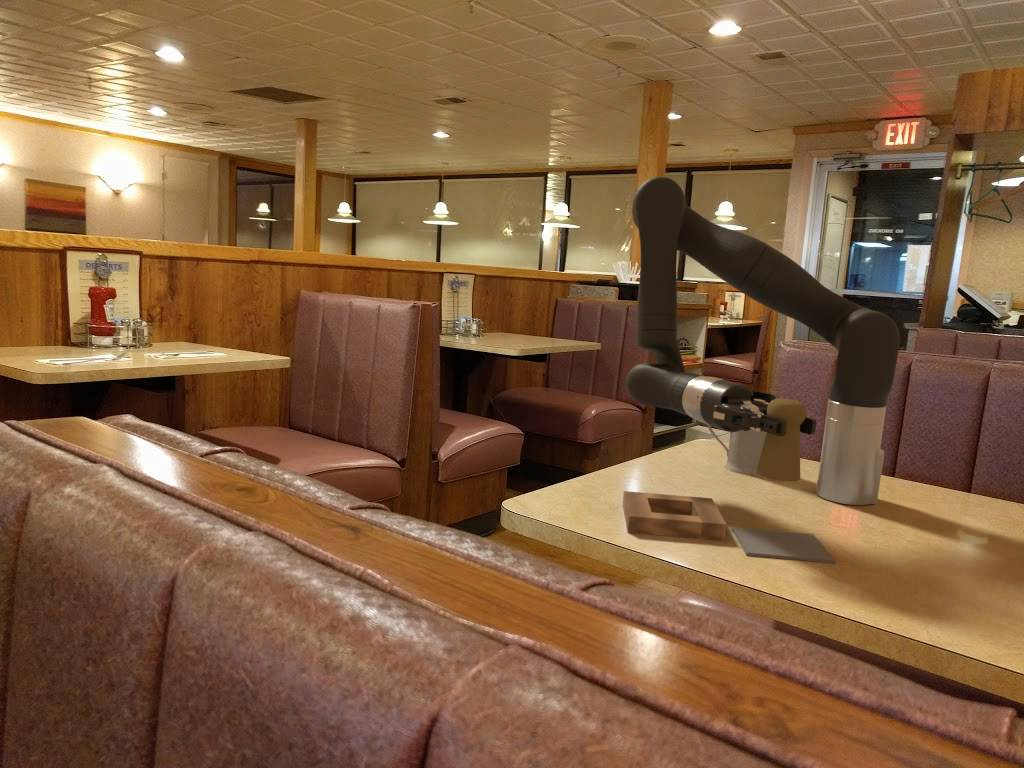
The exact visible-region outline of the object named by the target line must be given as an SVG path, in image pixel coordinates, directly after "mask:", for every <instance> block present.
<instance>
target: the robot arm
mask: <svg viewBox="0 0 1024 768" xmlns="http://www.w3.org/2000/svg"><path fill="white" fill-rule="evenodd" d="M631 208H632V210H631V216H632V221H633V222H634V225H635V227H636V228H637V229H638V233H639V236H638V237H639V243H640V245H639V246H640V269H639V270H640V271H639V284H638V294H637V307H636V308H637V309H636V310H637V312H636V316H637V317H636V342H637V345H638V347H639V348H641V349H642V350H645V351H648V352H650V353H652V354H653V356H654V358H655V361H656V363H646V362H644V363H640V364H637V365H635V366H633V367H632V368H631V369H630V370H629V371H628V374H627V375H626V377H625V378H626V380H625V387H626V391H627V392H628V393H627V394H629V396H630V397H631V399H633V400H634V401H635V402H636V403H638V404H641V405H643V406H649V407H656V408H660V409H666V410H672V411H675V412H677V413H679V414H682V415H685V416H687V417H689V418H693V420H694V419H695V420H696V421H697V422H700V423H703V424H705V425H707V424H708V425H710V426H711V427H714V428H716V429H719V430H722V431H725V432H728V433H731V432H738V431H740V430H743V431H749V430H755V431H757V432H760V431H764V432H767V433H770V434H773V435H776V436H785V434H786V427H787V423H786V421H784V420H781V419H778V418H774V417H771V416H768V415H767V407H768V405H769V403H767V402H766V401H765V400H760V399H755V397H754V395H753V393H752V390H751V389H750V388H749V387H748V386H746V385H744V384H740V383H738V382H733V381H729V380H725V379H722V378H719V377H714V376H705V375H702V374H697V373H694V372H688V371H686V370H685V365H684V362H683V358H682V353H681V349H680V346H679V342H678V292H677V291H678V286H677V282H678V281H677V259H678V256H677V255H678V251H679V252H681V253H683V254H684V255H686V256H687V257H689V258H691V259H693V260H694V261H695V262H697V263H699V265H701V266H702V267H704V268H705V269H706V270H708V271H709V272H711V273H712V274H713V275H715V276H716V277H717V278H719V279H721V280H722V281H724V282H725V283H727V285H730V286H731V287H732V288H734V289H736V290H737V291H738V292H740V293H742V294H744V295H745V296H747V297H748V298H750V299H752V300H753V301H755V302H757V303H759V304H761V305H763V306H764V307H766V308H768V309H771V310H773V311H774V312H776V313H779V314H780V315H783V316H785V317H788V318H790V319H793V320H795V321H797V322H799V323H800V324H802V325H804V326H806V327H807V328H809V329H810V330H811V331H813V332H815V333H816V334H817V335H818V336H820V337H821V338H823V340H825V341H826V342H828V343H829V344H830V345H832V346H833V347H834V348H836V350H837V356H836V358H837V359H836V365H835V373H834V377H833V379H832V383H830V385H829V386H830V387H829V394H828V401H827V408H826V415H825V423H824V430H823V438H822V446H821V452H820V453H821V454H820V461H819V469H818V477H817V481H816V482H817V483H816V495H818V496H819V497H821V498H823V499H825V500H827V501H831V502H835V503H839V504H844V505H850V506H851V505H852V506H853V505H854V506H866V505H877V504H878V499H879V498H878V497H879V492H880V487H881V486H880V485H881V479H882V471H883V465H884V459H885V458H884V457H885V451H884V450H883V449H882V448H881V445H882V440H883V438H882V437H883V431H884V424H885V417H886V411H887V410H886V409H887V404H888V398H889V395H890V393H891V391H892V390H893V389H892V388H893V384H894V380H895V374H896V368H897V365H898V358H899V350H900V339H901V337H900V331H899V328H898V327H899V326H898V325H897V323H896V322H895V321H894V320H893V319H892V318H891V317H890V316H889V315H887V314H885V313H883V312H880V311H876V310H872V309H870V308H866V307H864V306H862V305H860V304H858V303H855V302H854V301H851V300H849V299H847V298H845V297H843V296H841V295H839V294H838V293H835V292H834V291H832V290H830V289H829V288H828V287H826V286H824V285H823V284H822V283H821V282H819V281H818V280H817V279H816V278H815V277H814V275H812V274H811V273H810V272H808V271H807V270H806V269H805V268H803V267H802V265H799V264H798V263H797V262H796V261H794V260H793V259H792V258H791V257H788V255H786V254H784V253H783V252H781V251H779V250H778V249H776V248H774V247H773V246H771V245H769V244H768V243H766V242H764V241H762V240H760V239H758V238H756V237H754V236H752V235H749V234H746V233H744V232H740V231H737V230H733V229H731V228H727V227H724V226H722V225H719V224H716V223H714V222H712V221H710V220H708V219H707V218H706V217H704V216H702V215H701V214H699V213H698V212H697V211H695V210H693V208H692V207H690V206H688V205H687V203H686V196H685V194H684V191H683V189H682V187H681V186H680V185H679V183H677V181H675V180H673V179H672V178H670V177H668V176H654V177H652V178H651V177H650V178H649V179H648V180H645V181H644V182H643V183H642V184H641V185H640V186H639V187H638V188H637V190H636V192H635V194H634V197H633V200H632V207H631ZM816 429H817V420H816V419H815V418H811V417H809V416H806V417H805V419H804V421H803V422H802V424H801V425H800V433H802V434H805V435H809V436H810V435H815V433H816Z"/></svg>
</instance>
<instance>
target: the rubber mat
mask: <svg viewBox="0 0 1024 768" xmlns="http://www.w3.org/2000/svg"><path fill="white" fill-rule="evenodd" d="M731 531H732V533H733V534H734V536H735V538H736V540H737V541H738V544H739V545H740V546H742V547H741V548H742V550H743V552H744V554H745V555H746V556H748V557H749V556H751V557H763V558H771V559H772V558H774V559H785V560H797V561H809V562H819V563H821V562H822V563H832V564H836V562H837V560H836V558H835V557H834V556H833V555H832V554H831V553H830V552H829V551H828V549H827V548H826V547H825V545H824V544H823V543H822V542H820V540H819V539H818V538H817V537H816V535H814V533H803V532H793V531H781V530H770V529H769V530H768V529H757V528H746V527H745V528H744V527H733V526H731Z"/></svg>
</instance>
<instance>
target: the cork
mask: <svg viewBox="0 0 1024 768" xmlns="http://www.w3.org/2000/svg"><path fill="white" fill-rule="evenodd" d="M767 415H768V416H771V417H774V418H778V419H781V420H784V421H786V423H787V427H786V434H785V436H776V435H773V434H770V433H767V434H766V438H765V441H764V445H763V449H762V452H761V456H760V460H759V464H758V467H757V471H756V473H757V474H758V475H757V476H760V477H762V478H765V479H767V480H773V481H779V482H786V483H787V482H798V481H800V480H801V432H800V425H801V424H802V422H803V421H804V419H805V417H807V416H806V415H807V409H806V406H805V404H804V403H803V402H801V401H799V400H796V399H792V398H791V399H790V398H776V399H774V400H772V401H771V402H770V403H769V405H768V407H767Z"/></svg>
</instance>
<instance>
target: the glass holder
mask: <svg viewBox="0 0 1024 768" xmlns="http://www.w3.org/2000/svg"><path fill="white" fill-rule="evenodd" d="M751 391H752V390H751ZM752 393H753V395H754V397H755V399H760V400H765V401H766V402H767V403H770V402H771V401H772V400H774V399H777V396H776V395H774V394H772V393H767V392H759V391H754V390H753V391H752ZM706 426H707V428H708V431H709V432H710V434H711V435H712V436H713V437H714V438H715V439H716V441H717V442H718V443H719V444H720V445H721V446H722V447H723V449H724V450H725V451H726V456H727V460H726V461H725V464H724V468H725V469H726V470H729V471H731V472H733V473H736V474H737V473H738V474H742V475H747V476H749V475H750V476H759V475H758V474H757V473H756V471H757V467H758V464H759V460H760V456H761V452H762V449H763V445H764V441H765V438H766V434H767V432H764V431H760V432H757V431H755V430H749V431H743V430H740V431H738V432H730V434H729V445H728V447H727V446H726V444H724V442H723V441H722V440H721V439H720V438H719V437H718V435H717V434H716V433H715V431H714V430H713V429H712V426H711V425H708V424H706Z"/></svg>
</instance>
